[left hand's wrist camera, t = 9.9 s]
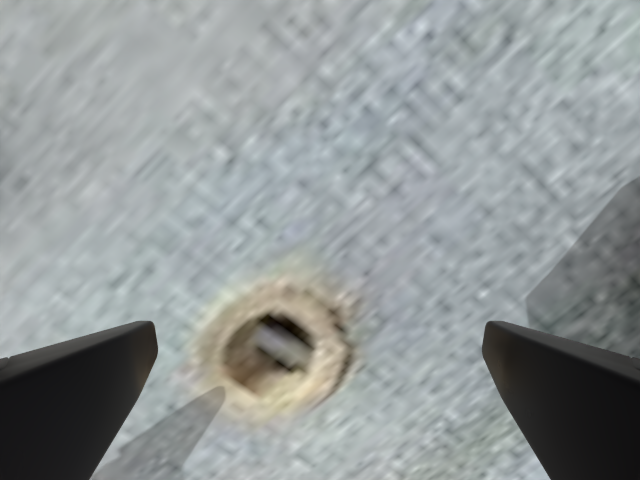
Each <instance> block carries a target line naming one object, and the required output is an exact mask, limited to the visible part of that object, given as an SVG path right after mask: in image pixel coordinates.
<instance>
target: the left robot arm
mask: <svg viewBox="0 0 640 480" xmlns="http://www.w3.org/2000/svg"><path fill="white" fill-rule="evenodd" d="M157 354H158V345H157V338H156V332H155V326H154V324H153V322H151V321H136V322H132V323H129V324H125V325H122V326H118V327H114V328H111V329H107V330H104V331H100V332H97V333H93V334H89V335H86V336H82V337H79V338H75V339H72V340H68V341H65V342H61V343H57V344H54V345H50V346H47V347H43V348H40V349H36V350H33V351H29V352H25V353H22V354H18V355H15V356H11V357H10V358H7V357H6V358H2V359H0V480H89V479H90V478H91V476H92V474H93V473H94V471H95V469H96V468H97V466H98V464H99V463H100V461H101V459H102V458H103V456H104V454H105V453H106V451H107V449H108V448H109V446H110V444H111V443H112V441H113V440H114V438H115V436H116V435H117V433H118V431H119V430H120V428H121V426H122V425H123V423H124V421H125V420H126V418H127V416H128V415H129V413H130V411H131V410H132V408H133V406H134V405H135V403H136V401H137V399H138V398H139V396H140V394H141V392H142V389H143V387H144V385H145V383H146V380H147V378H148V376H149V374H150V371H151V369H152V367H153V365H154V362H155V360H156V358H157ZM482 354H483V358H484V360H485V362H486V365H487V367H488V369H489V371H490V374H491V376H492V378H493V380H494V383H495V385H496V387H497V389H498V392H499V394H500V396H501V398H502V399H503V401H504V403H505V405H506V406H507V408H508V410H509V411H510V413H511V415H512V416H513V418H514V420H515V421H516V423H517V425H518V426H519V428H520V430H521V431H522V433H523V435H524V436H525V438H526V440H527V441H528V443H529V444H530V446H531V448H532V449H533V451H534V453H535V454H536V456H537V458H538V459H539V461H540V463H541V464H542V466H543V468H544V469H545V471H546V473H547V474H548V476H549V478H550V479H551V480H640V359H638V358H634V357H633V358H630V357H629V356H625V355H622V354H618V353H615V352H611V351H607V350H604V349H600V348H597V347H593V346H590V345H586V344H583V343H579V342H575V341H572V340H568V339H565V338H561V337H558V336H554V335H551V334H547V333H543V332H540V331H536V330H533V329H529V328H526V327H522V326H518V325H515V324H511V323H508V322H504V321H489V322H487V324H486V326H485V332H484V338H483V345H482Z"/></svg>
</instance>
